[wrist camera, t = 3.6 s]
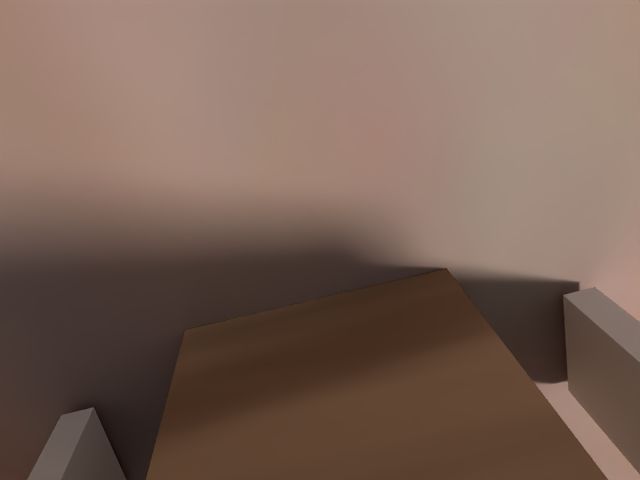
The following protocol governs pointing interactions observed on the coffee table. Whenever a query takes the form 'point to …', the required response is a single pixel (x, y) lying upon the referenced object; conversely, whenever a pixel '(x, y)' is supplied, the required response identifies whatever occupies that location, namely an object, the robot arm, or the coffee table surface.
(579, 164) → the coffee table surface
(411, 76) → the coffee table surface
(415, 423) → the block
